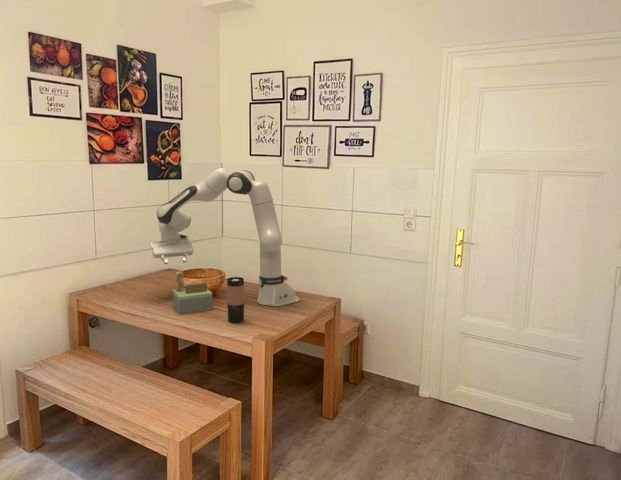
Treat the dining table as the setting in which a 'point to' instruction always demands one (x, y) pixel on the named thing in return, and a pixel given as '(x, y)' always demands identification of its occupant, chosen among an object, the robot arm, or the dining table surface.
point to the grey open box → (193, 304)
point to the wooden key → (179, 281)
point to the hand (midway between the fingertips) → (175, 262)
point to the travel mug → (235, 299)
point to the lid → (193, 291)
